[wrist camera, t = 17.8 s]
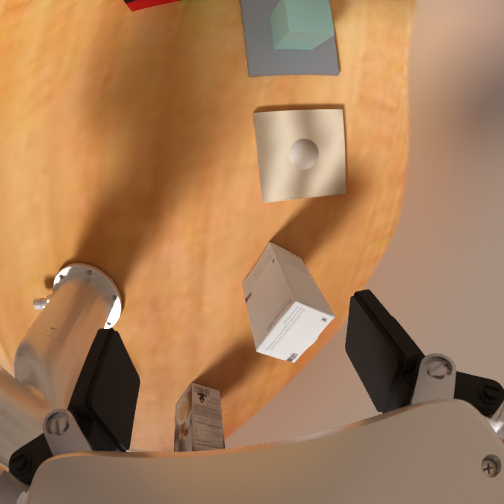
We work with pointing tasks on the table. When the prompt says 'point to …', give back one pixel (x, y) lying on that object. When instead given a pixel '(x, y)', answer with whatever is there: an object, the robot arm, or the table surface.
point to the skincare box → (284, 305)
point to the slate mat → (281, 60)
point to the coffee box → (199, 420)
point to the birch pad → (300, 153)
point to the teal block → (301, 24)
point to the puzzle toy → (145, 3)
